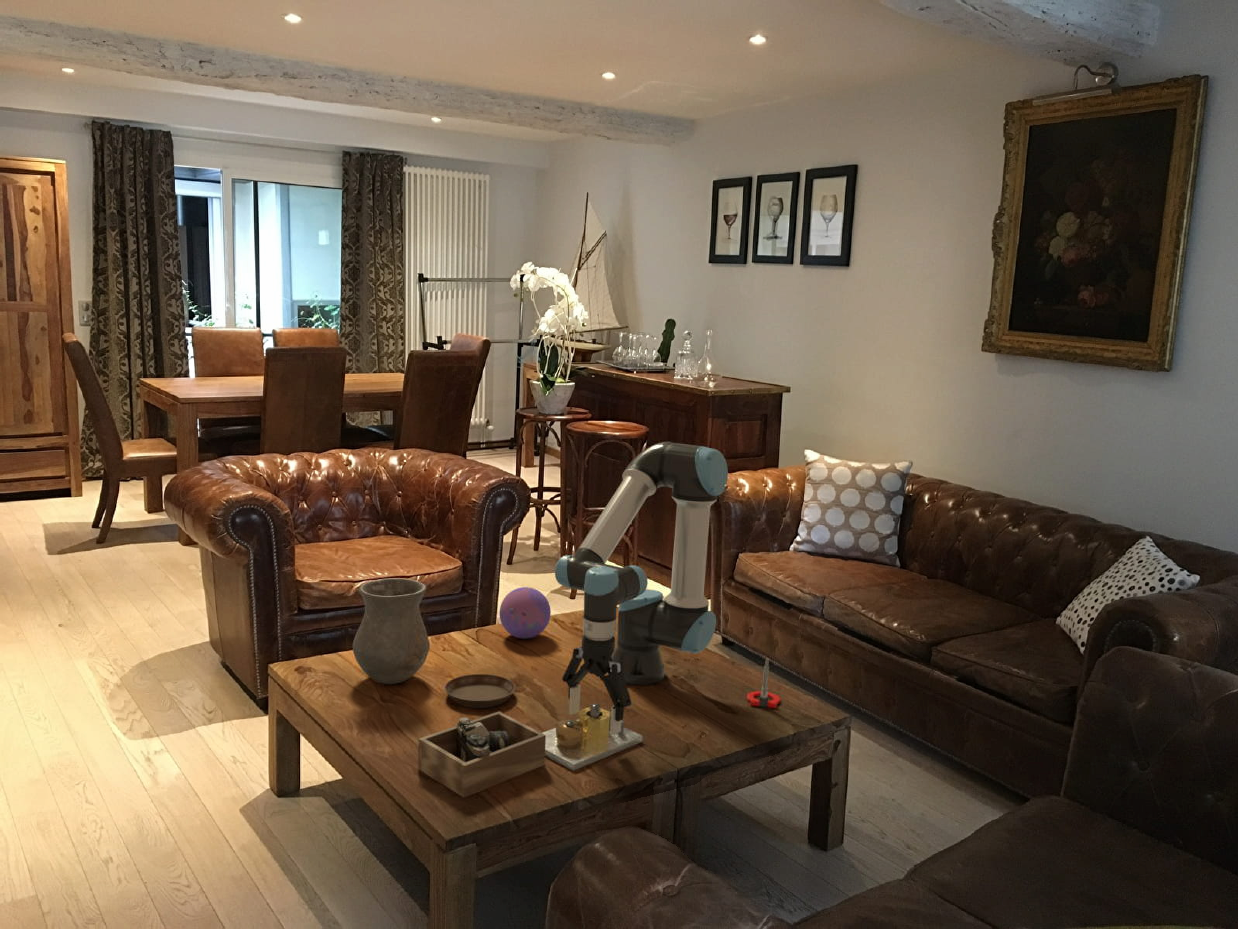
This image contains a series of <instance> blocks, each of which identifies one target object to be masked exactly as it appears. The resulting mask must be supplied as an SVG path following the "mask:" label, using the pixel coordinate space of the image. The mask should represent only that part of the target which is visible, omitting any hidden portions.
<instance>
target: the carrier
mask: <svg viewBox="0 0 1238 929" xmlns="http://www.w3.org/2000/svg"><path fill="white" fill-rule="evenodd" d="M589 707H590V717H599V716H600V708H601V705H600V704H599V703H591V704H590V706H589ZM609 716H610V718H609V737H608V738H606V739H603V740H601V741H588V740H585V739H583V738H582V731H583V724H582V723H581V722H579V718H578V719H561V720H558V721H557V722H556V723H555V727H554V728H551V729H549V730H546V731H543V732H542V733H543V734H544V735H546V743H545V758H549V759H550V760H552V761H554V762H556V763H558V764H560V765H562V766H563V767H565V768H567V769H569V770H571V771H576V770H579V769H581V768H583V767H585V766H588V765H590V764H593V763H595V762H598V761H600V760H602V759H605V758H607V757H609V756H611V755H614V754H616V753H617V754H618V753H619V752H621V751H624V750H626V749H628V748H631V747H633V746H635V745H637V744H640V743H642V742H643V735H642V734H641V733H640V734H639V733H637V732H635V731H634V730H631V729H628V728H627V727H625V722H624V719H623V720H621V732H618V733H616V734H613V735H612V734H610V724H611V711H609Z"/></svg>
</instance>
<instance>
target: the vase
mask: <svg viewBox="0 0 1238 929" xmlns="http://www.w3.org/2000/svg"><path fill="white" fill-rule="evenodd" d="M426 590H427V584H424V583H422V582H420V581H419V580H416V579H409V578H401V577H399V578H398V577H397V578H396V577H393V578H382V579H376V580H371V581H367V582H365V583H363V584H362V585H360V587H359V593H360V595H361V597H362V599H363V604H364V615H363V617H362V621H361V623H360V625H359V627H358V630H357V632H356V634H355V636H354V639H353V642H352V651H353V655H354V657H355V658H354V659H355V661H356V662H357V664H358V666H359V667H360V669H361V670H362V671H363V672H364V674H366V675H367V676H368V677H369V678H370V679H371V680H373V681H374V682H376V683H380V684H385V685H395V684H401V683H403V682H405V681H406V682H407V681H408V680H409V679H410V678H411V677H413V676H414V675H416V673H417V672H419V671H420V669H421V668H422V667H423V665H424V664H425V662H426V660H427V658H428V655H429V651H430V648H431V644H430V640H429V637H428V633H427V630H426V627H425V625H424V621H423V618H422V614H421V611H420V603H421V602H422V599H423V597H424V595H425V593H426Z"/></svg>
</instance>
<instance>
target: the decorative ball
mask: <svg viewBox="0 0 1238 929" xmlns="http://www.w3.org/2000/svg"><path fill="white" fill-rule="evenodd" d="M551 612H552V611H551V605H550V602H549V601H548V599H547V597H546V595H544V594H543V593H542V592H541V591H539V590H538V589H535V588H533V587H528V586H524V587H517V588H515V589H513V590H511V591H510V592H509V593H508V594H506V596H505V597H504V598H503V599H502V602H501V603H500V608H499V620H500V623H501V625H502V627H503V628H504V629H505V631H506V632H507V633H508V634H510V635H511V636H513V637H514V638H518V639H522V640H523V639H532V638H535V637H537V636H538V635H540V634H541V633H543V631H545V629H546V628H547V627H548V625H549V623H550V620H551V615H552V613H551Z"/></svg>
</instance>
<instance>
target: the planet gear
mask: <svg viewBox="0 0 1238 929" xmlns="http://www.w3.org/2000/svg"><path fill="white" fill-rule="evenodd" d="M609 712H610V711H609V710H606V709H604V708H602V707H600V716H599V717H590V706H589V707H585V708H583V709H580V710H579V712H578V719H579V722H581V723H582V724H583V731H582V738H583V739H585V740H588V741H601V740H603V739H606V738H608V737H609V718H610V716H609Z"/></svg>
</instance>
